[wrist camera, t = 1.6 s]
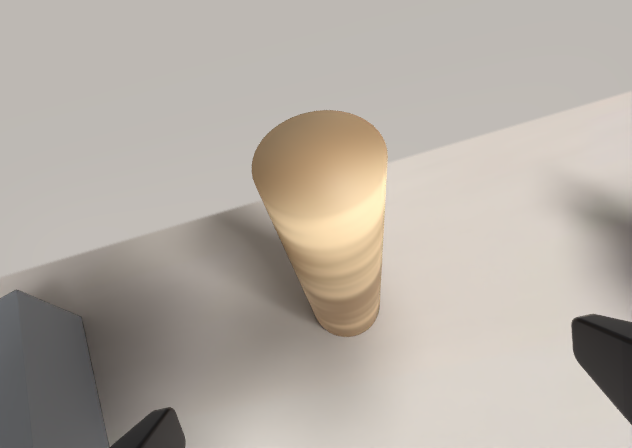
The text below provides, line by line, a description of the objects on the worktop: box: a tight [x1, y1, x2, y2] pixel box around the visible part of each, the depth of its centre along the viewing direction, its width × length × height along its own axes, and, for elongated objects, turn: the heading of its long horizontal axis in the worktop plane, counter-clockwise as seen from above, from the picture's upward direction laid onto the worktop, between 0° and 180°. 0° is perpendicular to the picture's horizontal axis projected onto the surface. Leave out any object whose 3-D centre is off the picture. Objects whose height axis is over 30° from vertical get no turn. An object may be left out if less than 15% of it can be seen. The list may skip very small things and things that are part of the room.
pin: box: [252, 110, 388, 337], centre depth 16 cm, size 4×4×13 cm
